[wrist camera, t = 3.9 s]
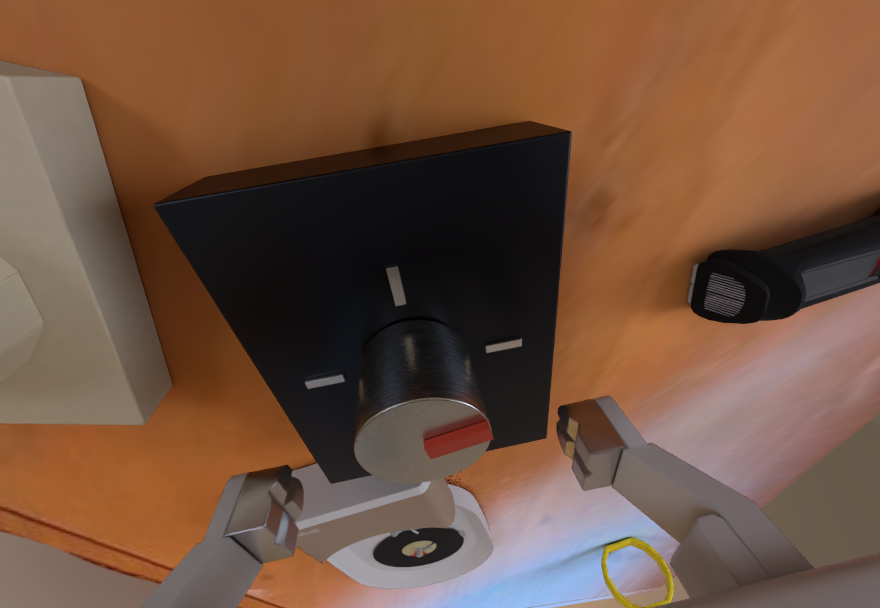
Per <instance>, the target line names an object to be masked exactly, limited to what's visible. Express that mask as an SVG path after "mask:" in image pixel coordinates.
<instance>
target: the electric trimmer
mask: <svg viewBox="0 0 880 608" xmlns="http://www.w3.org/2000/svg"><path fill="white" fill-rule="evenodd" d="M695 264H697V263H695ZM693 267H694V269H693V270H692V271H694V272H693V274H692V275H691V276H693V277H692V279H691V280H690V281H692V282H691V283H692V284H693V285H690V286H689V287H690V289H689V291H688V293H689V292H690V294H689V296H688V298H687V300H689V301H688V302H689V303H690V304H691V306H690V307H691V309H692V310H693V312H694V313H696V314H697V315H699V316H701V317H703V318H706V319H708V320H713V321H718V322H723V323H740V324H747V323H754V322H758V321H766V320H778V319H784V318H787V317H789V316H791V315H793V314H795V313H796V312H798V311H799V310H800V309H802V308H805V307H808V306H811V305H814V304H817V303H820V302H823V301H826V300H829V299H832V298H835V297H838V296H841V295H844V294H847V293H850V292H853V291H856V290H859V289H862V288H865V287H868V286H871V285H874V284H877V283H880V211H879V212H878V213H877V214H876V215H875V216H874V217H871V218H868V219H864V220H861V221H858V222H854V223H851V224H848V225H844V226H841V227H838V228H835V229H831V230H828V231H825V232H821V233H818V234H815V235H811V236H808V237H805V238H802V239H798V240H795V241H792V242H788V243H785V244H782V245H779V246H775V247H772V248H769V249H765V250H762V251H759V252H758V251H747V250H720V251H715V252H713V253H711V254H710V255H709V257H708V259H707V261H704V262H701V263H700V264H697V265H694V266H693ZM692 271H691V272H692ZM687 300H686V301H687Z"/></svg>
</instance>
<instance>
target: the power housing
mask: <svg viewBox="0 0 880 608" xmlns="http://www.w3.org/2000/svg"><path fill="white" fill-rule="evenodd" d="M172 385H173V384H172V381H171V378H170V374H169V371H168V368H167V364H166V361H165V358H164V354H163V351H162V348H161V344H160V341H159V338H158V334H157V331H156V328H155V324H154V321H153V318H152V314H151V311H150V308H149V304H148V301H147V298H146V294H145V291H144V288H143V284H142V281H141V278H140V274H139V271H138V268H137V264H136V261H135V258H134V254H133V251H132V248H131V244H130V241H129V238H128V234H127V231H126V228H125V224H124V221H123V218H122V214H121V211H120V208H119V204H118V201H117V198H116V194H115V191H114V188H113V184H112V181H111V178H110V174H109V171H108V168H107V164H106V161H105V158H104V154H103V151H102V148H101V144H100V141H99V138H98V134H97V131H96V128H95V124H94V121H93V118H92V114H91V111H90V108H89V104H88V101H87V98H86V94H85V91H84V88H83V84H82V81H81V79H80V78H78V77H75V76H71V75H66V74H61V73H56V72H52V71H47V70H42V69H38V68H33V67H28V66H23V65H19V64H14V63H9V62H5V61H0V423H17V424H94V425H145V424H146V423H147V421H148V420H149V418H150V417H151V416H152V414H153V413H154V411H155V410H156V408H157V407H158V406H159V404H160V403H161V401H162V400H163V399H164V397H165V396H166V394H167V393H168V391H169V390H170V389H171V387H172Z"/></svg>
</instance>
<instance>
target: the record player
mask: <svg viewBox="0 0 880 608" xmlns="http://www.w3.org/2000/svg"><path fill="white" fill-rule="evenodd" d="M291 476H292V477H295V478H298V479H299V480H300V482H301V483H302V486H303V490H304V504H303V510H302V513H301V514H300V515H299V517H298V518H297V520H296V521H295V523H296V525H297V527H298V529H299V530H298V535H297V540H296V545H295V546H297V547H298V548H300V549H301V550H303V551H304V552H306V553H307V554H309V555H310V556H312V557H313V558H315V559H316V560H318V561H319V562H321V563H323V562H324V561H325V560H327V561H328V562H330V563H331V564H332V565H334V566H335V567H336V568H338V569H339V570H340V571H342V572H343V573H345V574H346V575H348V576H349V577H351V578H352V579H354V580H355V581H357V582H359V583H361V584H363V585H366V586H370V587H375V588H384V589H403V588H414V587H421V586H426V585H431V584H436V583H440V582H443V581H446V580H450V579H453V578H455V577H458V576H460V575H463V574H465V573H467V572H469V571H471V570H473V569H475V568H476V567H478V566H479V565H481V564H482V563H483V562H485V561H486V560H487V559H488V558H489V556H490V555H491V553H492V551H493V543H492V539H491V535H490V531H489V526H488V524H487V521H486V519H485V517H484V514H483V512H482V510H481V508H480V506H479V504H478V503H477V501H476V499H475V498H474V496H473V495H472V494H471V493H469V492H468V491H466V490H464V489H462V488H460V487H457V486H454V485H450V484H447V483H446V481H445V479H444V478H442V479H439V480H434V481H429V482H422V483H400V482H393V481H388V480H384V479H381V478H379V477H376V476H374V475H371V476H367V477H362V478H357V479H353V480H348V481H343V482H338V483H334V484H330V482H329V481H328V479H327V478H326V476H325V474H324V473H323V471H322V470H321V468H320V467H319V465H318V463H316V464H313V465H310V466H306V467H303V468H300V469H296V470H293V471H292V475H291Z"/></svg>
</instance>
